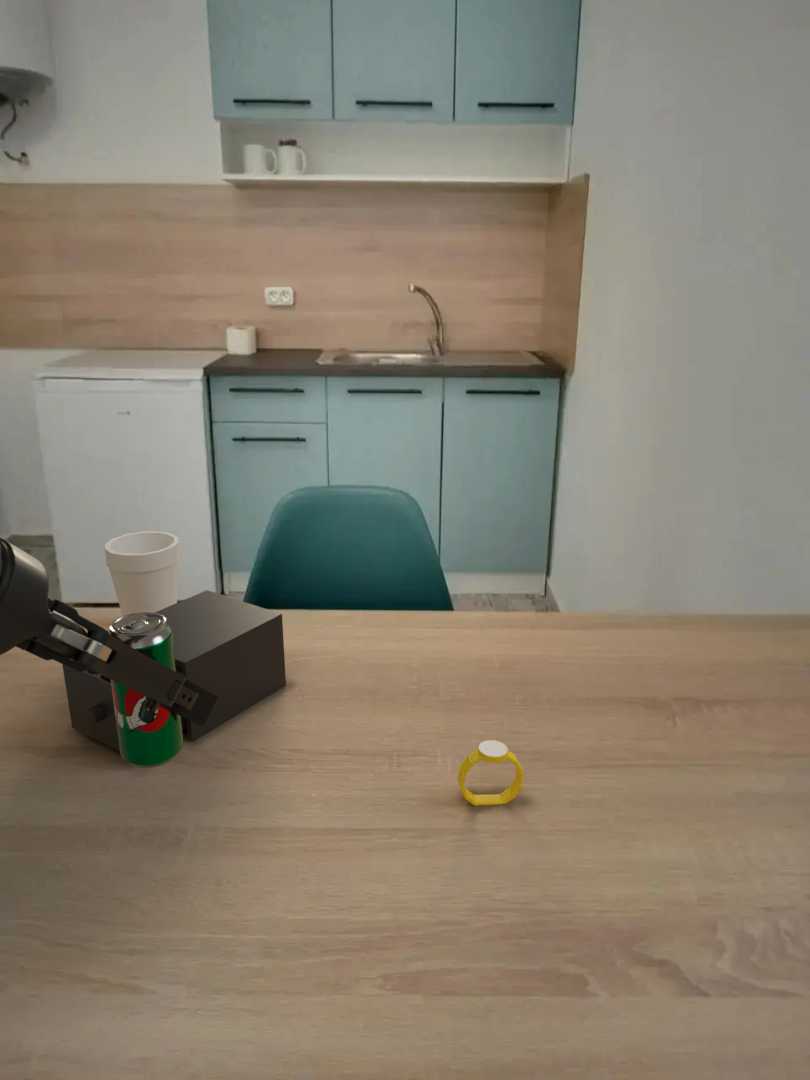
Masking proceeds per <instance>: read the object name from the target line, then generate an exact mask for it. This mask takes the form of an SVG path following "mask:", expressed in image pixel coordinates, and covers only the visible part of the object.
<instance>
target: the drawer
mask: <svg viewBox="0 0 810 1080" xmlns="http://www.w3.org/2000/svg"><path fill="white" fill-rule="evenodd" d="M61 666H62V670H63V678H64V684H65V691H66V697H67V703H68V709H69V716H70V723H71V727H72V728H73V729H74V730H76V731H79V732H81V733H82V734H84V735H86V736H88V737H89V738H92V739H94V740H96V741H98V742H100V743H102V744H103V745H105V746H107V747H109V748H112V749H113V750H115V751H118V752H119V753H120V748H119V740H118V732H117V725H116V717H115V710H114V702H113V695H112V687H111V683H109V682H107V681H105V680H103V679H101V678H100V677H101V674H99V673H98V675H97V674H93V675H92V674H90V673H88V672H87V671H86V670H85V671H83V672H79V671H76V670H74V669H72V668H70V667H67V666H65V665H63V664H61ZM177 671H178V672H180V673H181V668H180V667H177V666H176V672H177ZM181 724H182V731H183V730H184V729H186V728H187V725H186V718H184V717H181Z"/></svg>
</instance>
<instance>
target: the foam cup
mask: <svg viewBox="0 0 810 1080" xmlns="http://www.w3.org/2000/svg"><path fill="white" fill-rule="evenodd" d="M104 554H105V562H106V566H107V567H108V569H109V572H110V577H111V580H112V582H113V587H114V591H115V595H116V598H117V600H118V606H119V609H120V612H121V617H122V616H125V615H128V614H132V613H140V612H151V613H155V612H157V611H159V610H162V609H164V608H166V607H169V606H171V605H173V604H176V603H178V590H179V589H178V588H179V565H180V564H179V563H180V559H181V551H180V539H179V536H177V535H175V534H173V533H171V532H166V531H159V530H153V531H149V530H148V531H138V532H137V531H136V532H131V533H125V534H122V535H119V536H116V537H113V538H112V539H110V540H108V541H107V542H106V543H104Z"/></svg>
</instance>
